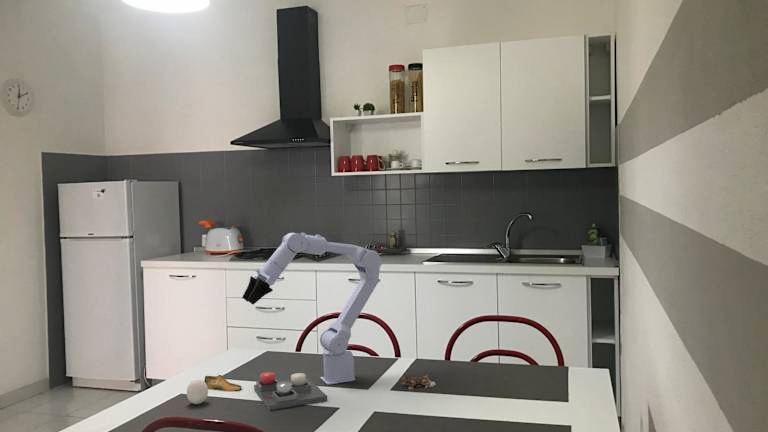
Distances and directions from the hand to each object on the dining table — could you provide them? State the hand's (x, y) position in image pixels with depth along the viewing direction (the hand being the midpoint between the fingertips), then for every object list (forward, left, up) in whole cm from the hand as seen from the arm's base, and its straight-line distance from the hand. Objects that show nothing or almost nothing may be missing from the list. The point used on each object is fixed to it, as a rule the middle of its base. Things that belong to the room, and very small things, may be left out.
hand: (247, 301), depth 196 cm
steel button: (-7, +12, -26) cm, 29 cm away
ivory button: (-13, +6, -26) cm, 29 cm away
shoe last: (+7, -12, -29) cm, 32 cm away
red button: (-5, -1, -26) cm, 26 cm away
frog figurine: (-48, +15, -30) cm, 59 cm away
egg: (+16, 0, -29) cm, 33 cm away
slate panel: (-10, +5, -29) cm, 31 cm away
